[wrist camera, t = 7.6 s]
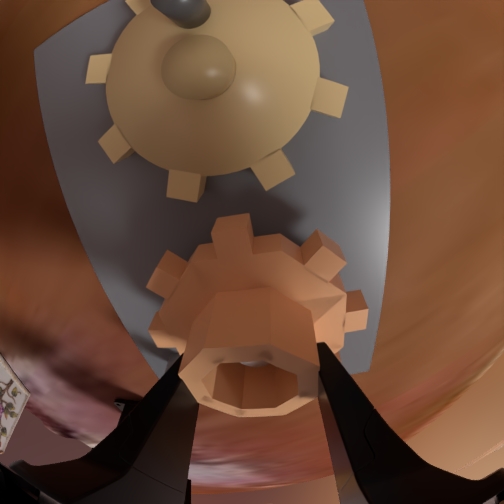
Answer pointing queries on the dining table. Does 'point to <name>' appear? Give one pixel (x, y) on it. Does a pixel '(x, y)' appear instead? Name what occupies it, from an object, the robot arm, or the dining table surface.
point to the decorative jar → (10, 402)
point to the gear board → (219, 140)
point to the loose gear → (254, 316)
